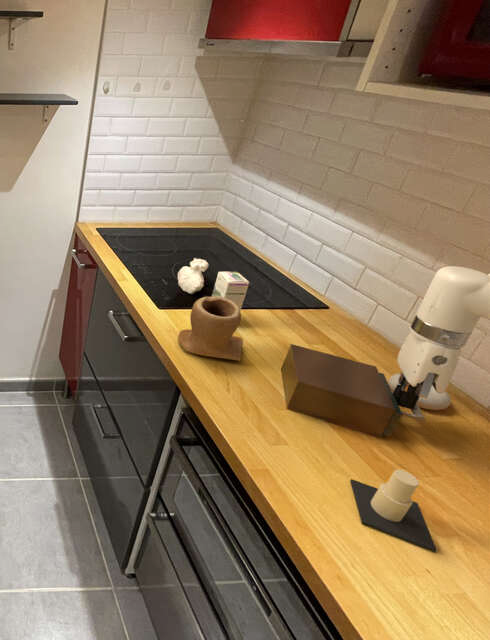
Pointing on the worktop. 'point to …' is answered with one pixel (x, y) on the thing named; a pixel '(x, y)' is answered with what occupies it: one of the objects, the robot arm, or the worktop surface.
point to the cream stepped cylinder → (395, 496)
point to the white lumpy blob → (192, 276)
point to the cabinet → (336, 390)
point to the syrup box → (231, 287)
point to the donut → (432, 401)
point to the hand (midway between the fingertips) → (401, 404)
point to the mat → (406, 529)
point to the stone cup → (213, 329)
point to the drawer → (398, 413)
